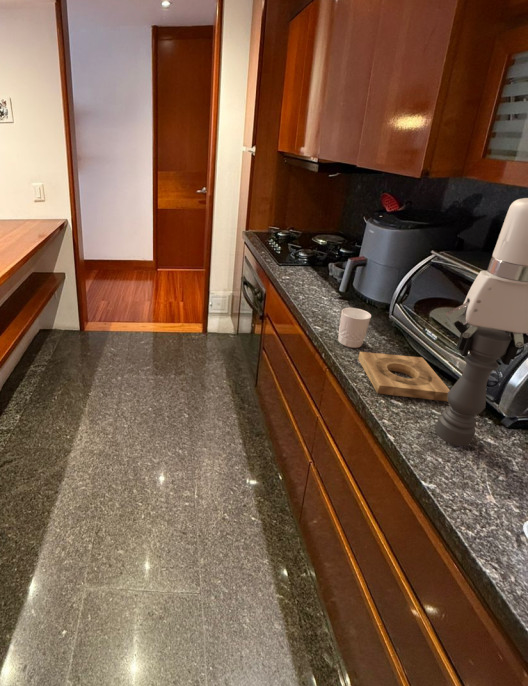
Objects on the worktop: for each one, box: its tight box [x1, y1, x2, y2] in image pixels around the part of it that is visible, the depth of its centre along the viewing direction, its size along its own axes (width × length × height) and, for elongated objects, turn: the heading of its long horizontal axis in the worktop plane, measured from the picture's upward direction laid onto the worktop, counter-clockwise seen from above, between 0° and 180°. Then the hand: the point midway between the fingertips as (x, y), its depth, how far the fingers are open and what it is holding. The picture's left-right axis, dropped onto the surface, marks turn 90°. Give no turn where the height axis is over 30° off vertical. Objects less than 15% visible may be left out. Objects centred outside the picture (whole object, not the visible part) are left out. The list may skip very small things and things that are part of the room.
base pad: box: [357, 351, 451, 403], centre depth 101 cm, size 16×16×2 cm
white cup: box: [337, 307, 372, 349], centre depth 117 cm, size 8×8×10 cm
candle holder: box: [434, 327, 511, 448], centre depth 78 cm, size 6×6×25 cm
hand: (482, 356), depth 75 cm, fingers closed on candle holder, 5 cm apart
